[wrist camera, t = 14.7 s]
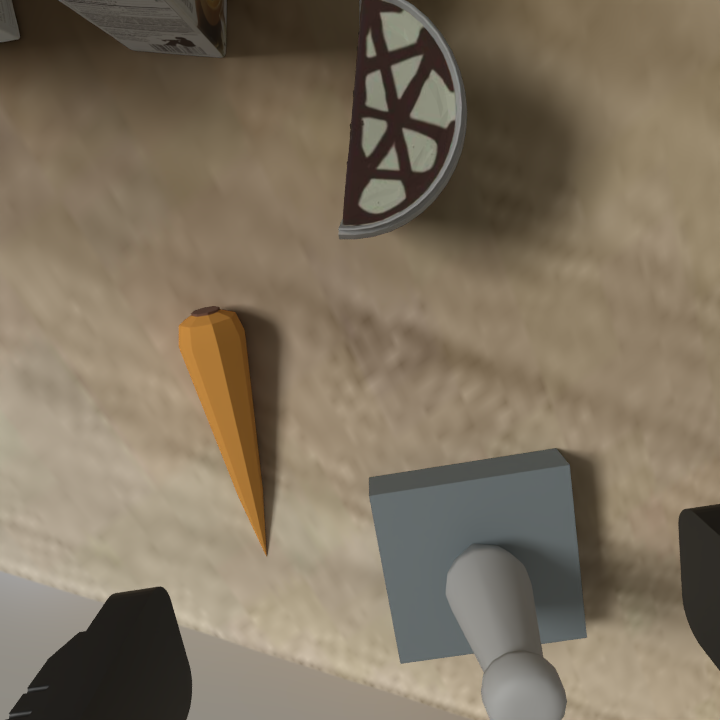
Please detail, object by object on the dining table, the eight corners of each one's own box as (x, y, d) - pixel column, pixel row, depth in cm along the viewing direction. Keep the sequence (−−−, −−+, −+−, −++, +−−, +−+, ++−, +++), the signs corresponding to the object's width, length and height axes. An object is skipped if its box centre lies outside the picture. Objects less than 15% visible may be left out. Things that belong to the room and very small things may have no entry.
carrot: (198, 302, 43) (156, 321, 39) (251, 299, 41) (213, 319, 37) (257, 535, 49) (226, 572, 45) (305, 542, 47) (277, 580, 43)
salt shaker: (493, 615, 44) (544, 778, 31) (426, 581, 43) (450, 733, 31) (537, 554, 43) (609, 697, 30) (469, 518, 42) (513, 648, 29)
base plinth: (556, 448, 44) (569, 464, 41) (573, 611, 47) (586, 637, 44) (369, 477, 45) (369, 495, 42) (398, 636, 48) (400, 663, 45)
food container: (434, 243, 40) (455, 252, 31) (344, 234, 40) (337, 240, 31) (459, 45, 38) (491, -14, 28) (362, 35, 37) (360, -28, 28)
